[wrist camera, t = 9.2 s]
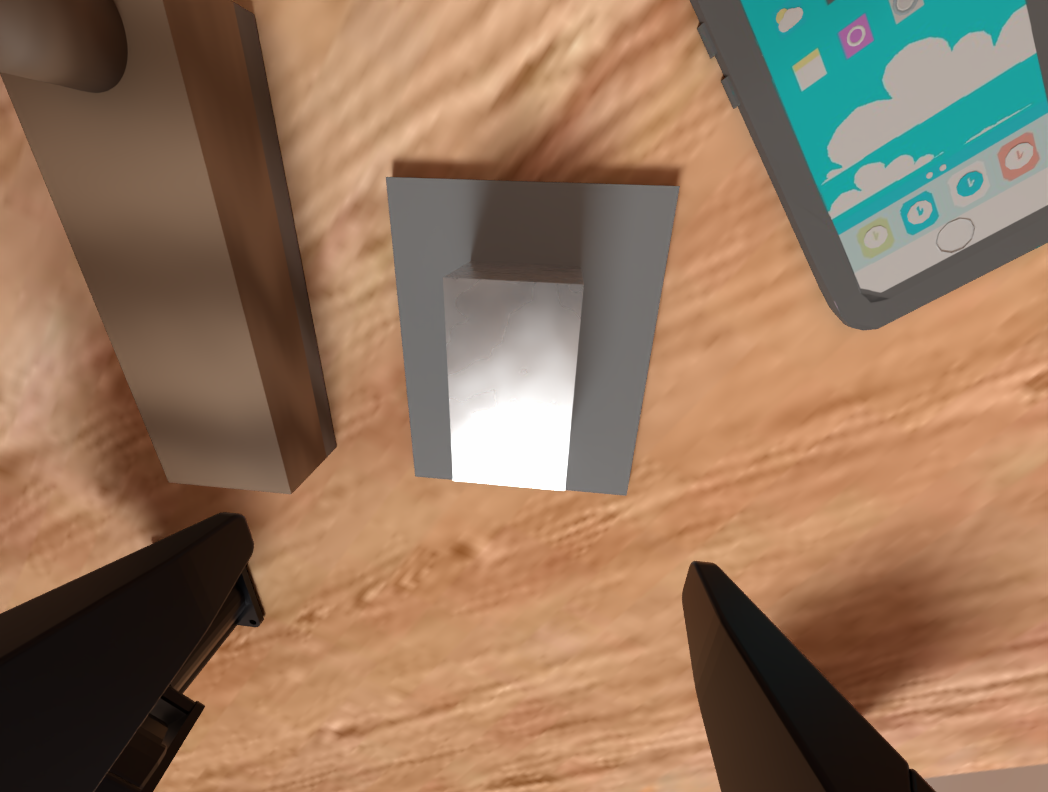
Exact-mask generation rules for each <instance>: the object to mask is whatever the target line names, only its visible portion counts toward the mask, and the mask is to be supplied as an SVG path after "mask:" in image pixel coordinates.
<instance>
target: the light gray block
mask: <svg viewBox="0 0 1048 792" xmlns="http://www.w3.org/2000/svg"><path fill="white" fill-rule="evenodd" d="M443 289H444V309H445V329H446V349H447V369H448V389H449V409H450V429H451V449H452V468H453V481H462V482H473V483H484V484H494V485H505V486H516V487H527V488H538V489H549V490H560V491H565V484H566V473H567V462H568V451H569V441H570V430H571V419H572V408H573V397H574V387H575V376H576V365H577V354H578V343H579V333H580V322H581V311H582V300H583V289H584V282H583V275H582V268H581V267H580V266H559V265H538V264H518V263H497V262H476V261H470V262H468V263H467V264H465V265H463V266H461V267H460V268H458V269H456V270H455V271H453V272H451V273H449V274H448V275H446V276H444V277H443Z"/></svg>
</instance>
